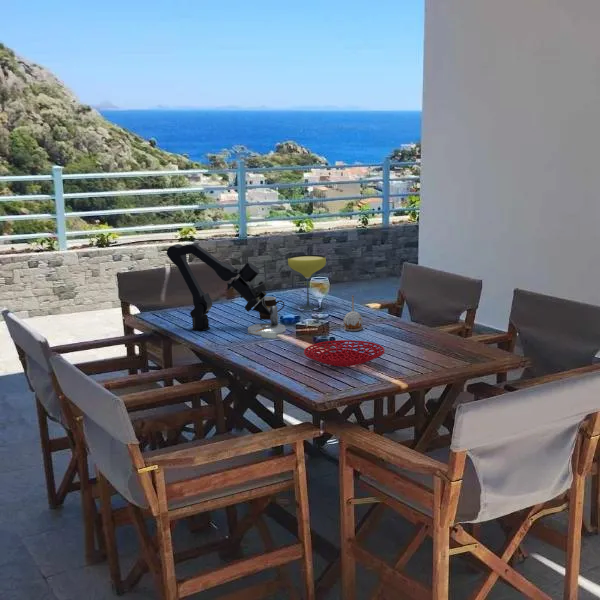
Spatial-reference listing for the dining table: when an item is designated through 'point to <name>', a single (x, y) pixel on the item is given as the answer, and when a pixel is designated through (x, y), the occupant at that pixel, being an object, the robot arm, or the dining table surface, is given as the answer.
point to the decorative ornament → (353, 319)
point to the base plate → (267, 334)
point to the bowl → (344, 353)
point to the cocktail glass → (307, 269)
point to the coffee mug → (269, 302)
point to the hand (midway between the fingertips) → (270, 314)
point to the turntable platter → (268, 324)
